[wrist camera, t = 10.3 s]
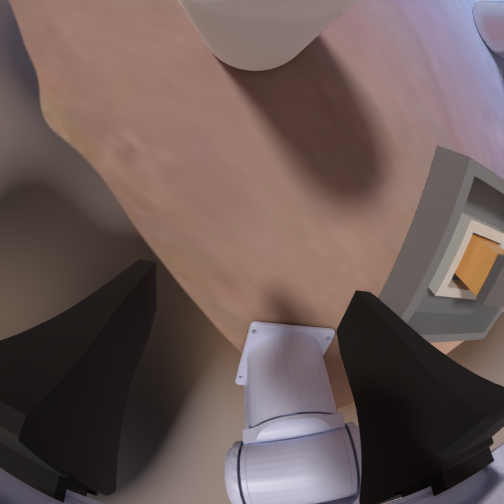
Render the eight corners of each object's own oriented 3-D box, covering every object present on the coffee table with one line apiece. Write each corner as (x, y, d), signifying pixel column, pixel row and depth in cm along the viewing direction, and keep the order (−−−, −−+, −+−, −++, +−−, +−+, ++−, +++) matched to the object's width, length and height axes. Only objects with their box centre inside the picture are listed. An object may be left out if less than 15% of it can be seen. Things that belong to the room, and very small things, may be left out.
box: (467, 317, 26) (483, 338, 22) (370, 312, 24) (385, 342, 21) (523, 200, 18) (547, 215, 15) (437, 145, 17) (470, 157, 13)
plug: (470, 271, 22) (503, 306, 16) (446, 266, 21) (482, 305, 16) (487, 235, 20) (524, 266, 14) (464, 226, 19) (506, 260, 14)
